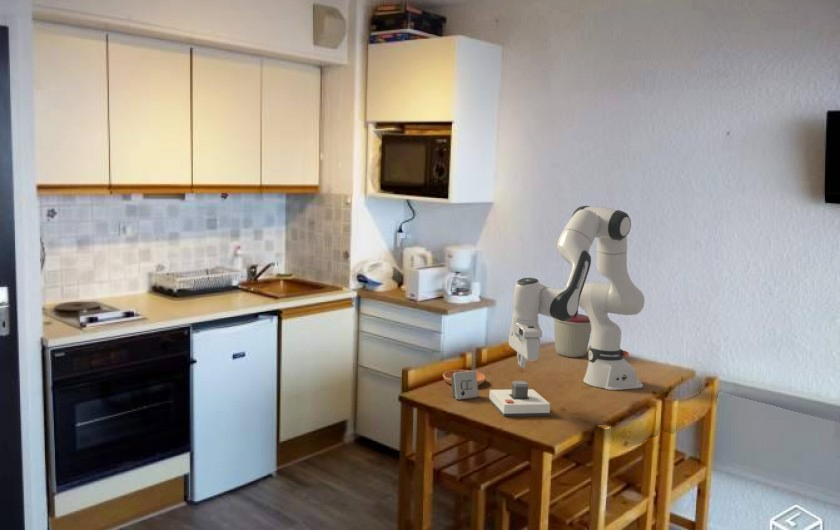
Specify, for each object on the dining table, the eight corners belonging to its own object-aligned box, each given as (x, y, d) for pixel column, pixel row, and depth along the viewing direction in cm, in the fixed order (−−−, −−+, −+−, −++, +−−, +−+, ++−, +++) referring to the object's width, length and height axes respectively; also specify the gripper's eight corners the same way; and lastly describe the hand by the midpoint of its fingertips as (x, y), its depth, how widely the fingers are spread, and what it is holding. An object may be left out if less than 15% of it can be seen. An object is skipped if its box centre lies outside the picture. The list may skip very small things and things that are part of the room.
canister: (567, 347, 339) (571, 303, 336) (599, 357, 325) (603, 310, 322) (541, 352, 328) (545, 306, 325) (573, 362, 314) (577, 314, 311)
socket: (532, 400, 258) (533, 387, 257) (549, 415, 242) (550, 402, 242) (488, 400, 255) (489, 388, 254) (503, 416, 239) (504, 403, 238)
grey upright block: (522, 403, 251) (524, 380, 250) (526, 406, 247) (528, 384, 246) (510, 403, 250) (512, 380, 249) (514, 407, 246) (516, 384, 245)
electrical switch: (456, 400, 253) (457, 374, 253) (448, 397, 257) (448, 371, 257) (478, 397, 258) (479, 371, 257) (470, 394, 262) (470, 369, 262)
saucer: (435, 383, 272) (435, 375, 272) (454, 374, 286) (454, 366, 286) (474, 392, 264) (474, 384, 264) (491, 382, 278) (492, 374, 278)
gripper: (505, 319, 254) (503, 357, 256) (525, 333, 234) (523, 375, 237) (522, 319, 256) (520, 357, 258) (544, 333, 236) (541, 375, 238)
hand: (521, 366), depth 247 cm, fingers closed
